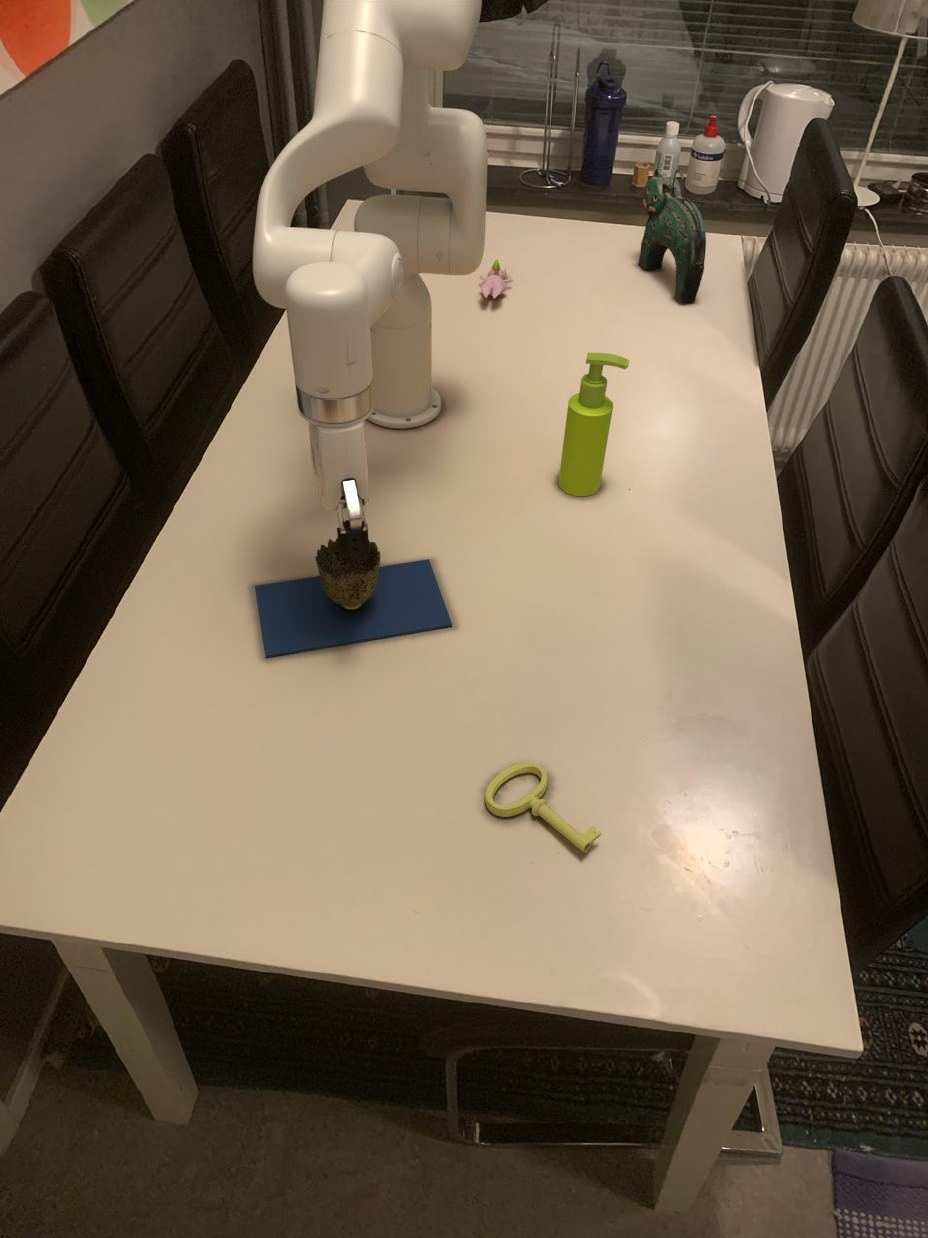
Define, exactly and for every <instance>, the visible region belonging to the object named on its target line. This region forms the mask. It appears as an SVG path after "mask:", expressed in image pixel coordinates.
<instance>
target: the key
mask: <svg viewBox="0 0 928 1238" xmlns="http://www.w3.org/2000/svg"><path fill="white" fill-rule="evenodd" d="M528 773H529V774H533V775H536V776H537V777H538V778H539V779H540V782H539V783H538V784H537V786H536V787H535V789H533V790H532V791H531V792H530V793H529V794H528V795H526V796H525V797H523V798H522V799H520V800H519V801H517V802H514V803H509V804H499V803H497V802H496V801H494V797H495V795H496V792H497V791H498V789H499V788H500V787H501V786H502V785H503V784H504V783H505V782H506V781H508V780H509V779H512V778H513V777H515V776H518V775H522V774H528ZM548 783H549V777H548V773H547V770H546V768H544V766H542V765H541V764H539V763H537V762H534V761H525V762H520V763H516V764H514V765H511V766H509V767H507V768H506V769H504V770H502V771H501V772H500V773H498V774H497V775H496V776H494V778H493V779H492V780H491V781H490V782H489V784H488V786H487V787H486V790H485V791H484V802H485V805H486V808H487V810H489V812H491V813H492V814H493V815H494V816H498V817H502V818H508V817H513V816H517V815H519V814H521V813H524V812H526V811H527V810H529V809H531V814H532V815H533V816H534V817H541V818H542V819H543V820H545V822H547V823H548V824H549V825H550V826H551V827H552V828H554V829H555V830H557V832H559V833H560V834H561V835H562V836H563V837H565V838H566V839H567V840H568V841H569V842H571V843H572V844H573V845H574V846H575V847H576V848H578V849H579V850H580V851H581V852H582V853H585V852H587V851H589V849H590V848H591V847H592V843H594V842H595V841H596V840H597V839H598V838H600V837H601V836H602V832H601V831H600V830H599V831H597V830H596V829H597V828H596V827H595V826H593V825H592V826H590V827H589V828H588V829H587V830H585V831H584V832H583V833H581V832H580V831H579V830H577V829H576V828H575V827H573V826H572V825H571V824H570V823H568V822H567V821H566V820H565V819H564V818H562V817H561V816H560V815H559V814H558V813H557V812H555V811H554V810H553V809H552V808H551V807H549V806H548V801H547V799H545V798H542V797H543V795H544V794H545V792H546V789H547V787H548Z"/></svg>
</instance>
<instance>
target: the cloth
mask: <svg viewBox="0 0 928 1238" xmlns="http://www.w3.org/2000/svg"><path fill="white" fill-rule="evenodd" d="M254 589H255V595H256V603H257V609H258V614H259V621H260V627H261V634H262V635H261V636H262V640H263V641H262V642H263V647H264V654H265V659H268V658H269V659H270V658H275V657H282V656H287V655H292V654H293V655H294V654H299V653H303V652H311V651H316V650H322V649H327V648H335V647H339V646H340V647H341V646H346V645H353V644H357V643H358V644H359V643H363V642H369V641H375V640H376V641H377V640H381V639H386V638H387V639H388V638H393V637H399V636H405V635H411V634H417V633H421V632H429V631H435V630H441V629H445V628H446V629H447V628H452V627H453V623H452V619H451V617H450V614H449V611H448V609H447V605H446V603H445V601H444V598H443V595H442V591H441V589H440V586H439V583H438V581H437V578H436V574H435V573H434V569H433V567H432V563H431V560H430V559H429V558H428V559H427V558H426V559H421V560H415V561H409V562H407V561H406V562H402V563H395V564H389V565H382V566H381V565H380V567H379V576H378V583H377V587H376V590H375V592H374V593H373V595H372V596H371V597H370V598H369V599H368V600H367V602H366V604H365V606H364V607H363V608H362V609H361V610H359V611H357V612H346V611H343V610H342V609H341V608H340V607H339V606H338V605H337V603H336V602H334V601H333V600H332V599H330V597H329V596H328V595H327V594H326V592H325V590H324V587H323V585H322V582H321V578H320V575H317V576H310V577H304V578H297V579H289V580H285V581H278V582H271V583H264V584H257V585H255V586H254Z"/></svg>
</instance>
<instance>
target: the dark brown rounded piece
mask: <svg viewBox="0 0 928 1238" xmlns="http://www.w3.org/2000/svg"><path fill="white" fill-rule="evenodd" d="M314 559H315V562H316V567H317V571H318V574H319V576H320V578H321V582H322V585H323V587H324V590H325V592H326V594H327V595H328V596H329V597H330V599H332V600H333V601H334V602H336V603H337V605H338V606H339V607H340V608H341V609H342V610H343V611H346V612H357V611H359V610H361V609H362V608H363V607H364V606H365V604H366V602H367V600H368V599H369V598H370V597H371V596H372V595H373V593H374V592H375V590H376V587H377V583H378V576H379V567H381V551H380V550H379V547H378V545H377V543H376V542H375V541H369V553H368V554H367V555H362V556H355V557H349V558H341V557H340V554H339V545H338V536H337V537H336V539H335V540H333V539H331V538H329V539H328V541H327V545H325V544H323V543H322V544H320V548H319V549H318V548H317V550H316V555H315V556H314Z"/></svg>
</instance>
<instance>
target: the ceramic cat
mask: <svg viewBox="0 0 928 1238" xmlns="http://www.w3.org/2000/svg"><path fill="white" fill-rule="evenodd" d="M677 173H679V176H680V179H681V181H682V182H684V181H685V177H684V174H683V171H682V169H680V168H676V169H675V172H674V175H673V176H663V175H662V174H661V173H660V171H659V169H658V168H655V171H654V173H653V176H652V177H651V178H649V179H648V180H647V181H646V183H645V187H644V192H643V199H642V204H643V208H644V210H645V211H646V213H647V214H648V218H647V220H646V223H645V228H644V231H643V237H642V240H641V243H640V253H639V257H638V258H639V259H638V266H639V268H641V269H642V270H643V271H645V272H654V271H661V270H662V267H663V261H664V257H665V255H666V252H667V250H669V251H670V252H671V255H672V257H673V259H674V263H675V285H674V286H675V287H674V300H675V301H676V302H677V303H678V304H680V305H688V304H693V303H695V301H696V298H697V295H698V292H699V289H700V286H701V282H702V280H703V275H704V271H705V260H706V251H707V250H706V249H707V234H706V233H707V232H706V226H705V223H704V219H703V217H702V214H701V212H700V210H699V209H698V208H697V206H696V205H695V203H694V202H693V201H691V199H688V198H684V197H683V196H682V191H681V186H680V183H679V181H678V179H677V178H676V177H677V176H676V175H677Z"/></svg>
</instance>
